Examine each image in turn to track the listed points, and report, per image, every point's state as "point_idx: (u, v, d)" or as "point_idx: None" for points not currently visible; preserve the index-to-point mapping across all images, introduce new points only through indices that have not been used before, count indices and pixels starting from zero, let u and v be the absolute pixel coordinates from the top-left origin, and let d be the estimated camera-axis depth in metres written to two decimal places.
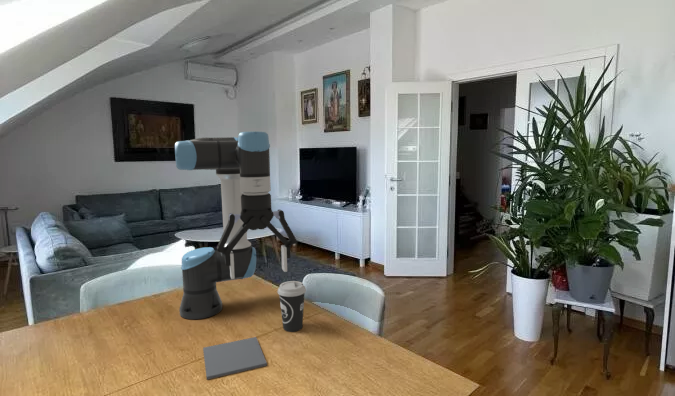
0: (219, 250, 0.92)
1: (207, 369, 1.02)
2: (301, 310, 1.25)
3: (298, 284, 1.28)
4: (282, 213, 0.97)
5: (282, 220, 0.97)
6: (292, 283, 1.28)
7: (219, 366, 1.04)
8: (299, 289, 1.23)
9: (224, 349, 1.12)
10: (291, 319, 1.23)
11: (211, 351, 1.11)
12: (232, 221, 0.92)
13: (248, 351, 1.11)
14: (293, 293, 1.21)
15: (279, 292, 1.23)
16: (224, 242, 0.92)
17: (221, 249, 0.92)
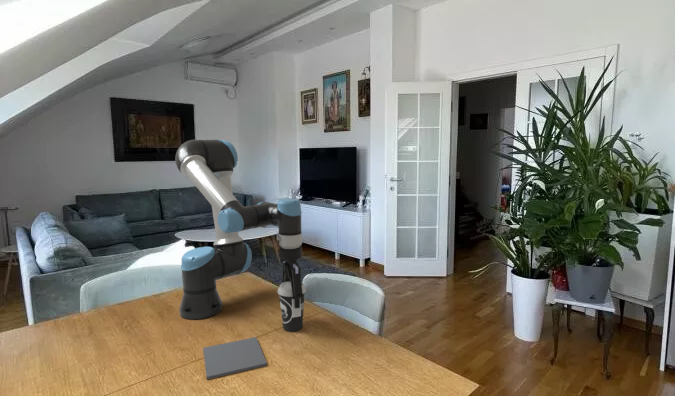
0: (282, 281, 1.32)
1: (207, 369, 1.02)
2: (301, 310, 1.25)
3: None
4: (292, 270, 1.18)
5: (292, 275, 1.19)
6: None
7: (219, 366, 1.04)
8: None
9: (224, 349, 1.12)
10: (291, 319, 1.23)
11: (211, 351, 1.11)
12: (283, 262, 1.30)
13: (248, 351, 1.11)
14: None
15: (279, 292, 1.23)
16: (282, 276, 1.31)
17: (282, 281, 1.32)
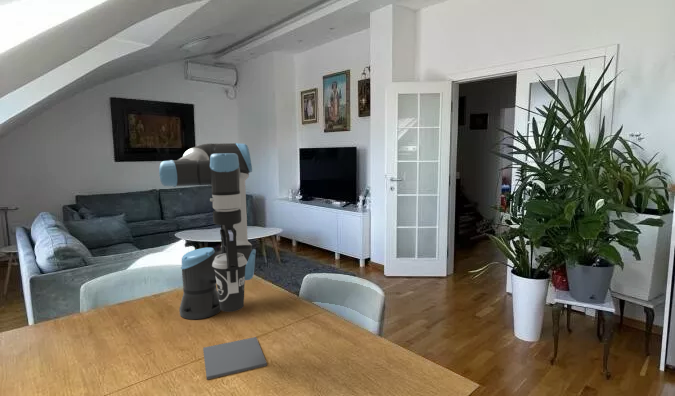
0: (221, 253, 1.12)
1: (207, 369, 1.02)
2: (240, 286, 1.05)
3: (239, 256, 1.08)
4: (226, 236, 0.98)
5: (226, 242, 0.99)
6: None
7: (219, 366, 1.04)
8: None
9: (224, 349, 1.12)
10: (228, 296, 1.03)
11: (211, 351, 1.11)
12: None
13: (248, 351, 1.11)
14: None
15: (213, 264, 1.03)
16: (221, 247, 1.11)
17: (221, 253, 1.12)
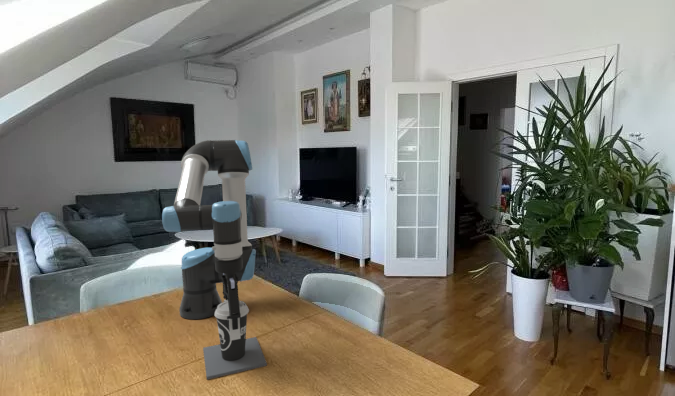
0: None
1: (207, 369, 1.02)
2: (242, 335, 1.07)
3: (240, 304, 1.10)
4: (227, 284, 1.00)
5: (228, 290, 1.00)
6: None
7: (219, 366, 1.04)
8: None
9: None
10: (230, 345, 1.05)
11: (211, 351, 1.11)
12: (223, 273, 1.11)
13: (248, 351, 1.11)
14: None
15: (215, 314, 1.05)
16: (223, 288, 1.14)
17: (223, 292, 1.15)
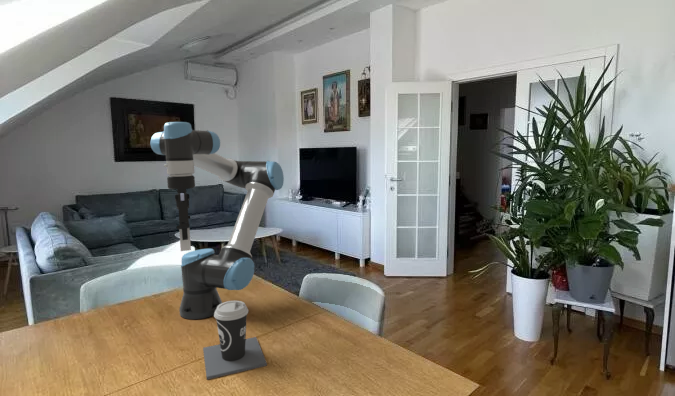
0: None
1: (207, 369, 1.02)
2: (242, 335, 1.06)
3: (240, 304, 1.10)
4: (177, 196, 1.05)
5: (178, 202, 1.06)
6: (233, 303, 1.10)
7: (219, 366, 1.04)
8: (238, 311, 1.05)
9: None
10: (230, 346, 1.05)
11: (211, 351, 1.11)
12: None
13: (248, 351, 1.11)
14: (230, 316, 1.03)
15: (215, 315, 1.05)
16: None
17: None
